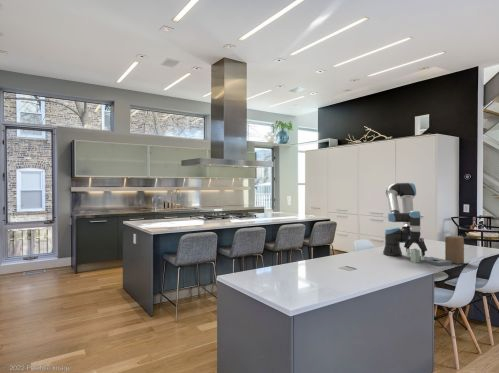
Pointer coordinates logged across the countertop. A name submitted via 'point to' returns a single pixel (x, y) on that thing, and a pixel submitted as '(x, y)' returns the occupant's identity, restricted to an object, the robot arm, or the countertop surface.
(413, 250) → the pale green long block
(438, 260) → the plate
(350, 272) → the countertop surface
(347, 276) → the countertop surface
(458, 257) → the block
